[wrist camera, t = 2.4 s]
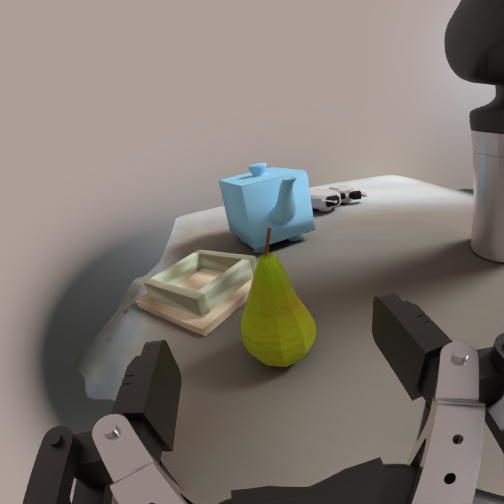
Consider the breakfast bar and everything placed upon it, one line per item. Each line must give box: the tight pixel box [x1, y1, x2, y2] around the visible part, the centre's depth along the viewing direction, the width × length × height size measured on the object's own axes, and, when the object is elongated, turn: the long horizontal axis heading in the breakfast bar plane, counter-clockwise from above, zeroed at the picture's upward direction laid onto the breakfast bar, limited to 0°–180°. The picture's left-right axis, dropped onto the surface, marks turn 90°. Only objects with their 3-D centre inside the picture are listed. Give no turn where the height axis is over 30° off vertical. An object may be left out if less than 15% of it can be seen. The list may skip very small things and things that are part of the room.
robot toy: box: [309, 185, 367, 212], centre depth 65 cm, size 12×4×15 cm
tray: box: [136, 249, 257, 337], centre depth 38 cm, size 14×14×4 cm
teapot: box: [219, 163, 315, 253], centre depth 49 cm, size 22×11×14 cm, turn 21°
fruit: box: [241, 228, 316, 367], centre depth 23 cm, size 6×6×12 cm
